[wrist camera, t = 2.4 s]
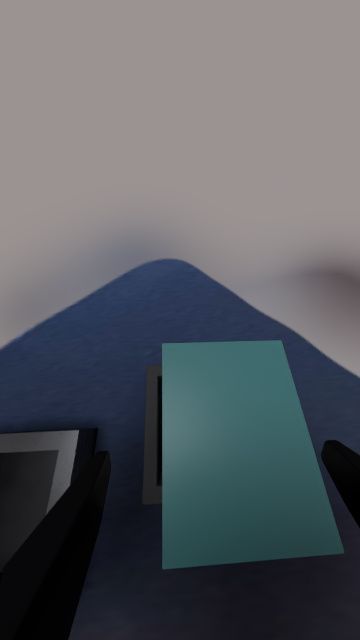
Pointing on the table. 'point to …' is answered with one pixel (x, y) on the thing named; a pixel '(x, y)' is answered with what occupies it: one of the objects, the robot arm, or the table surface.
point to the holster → (152, 438)
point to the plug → (238, 459)
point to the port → (36, 478)
